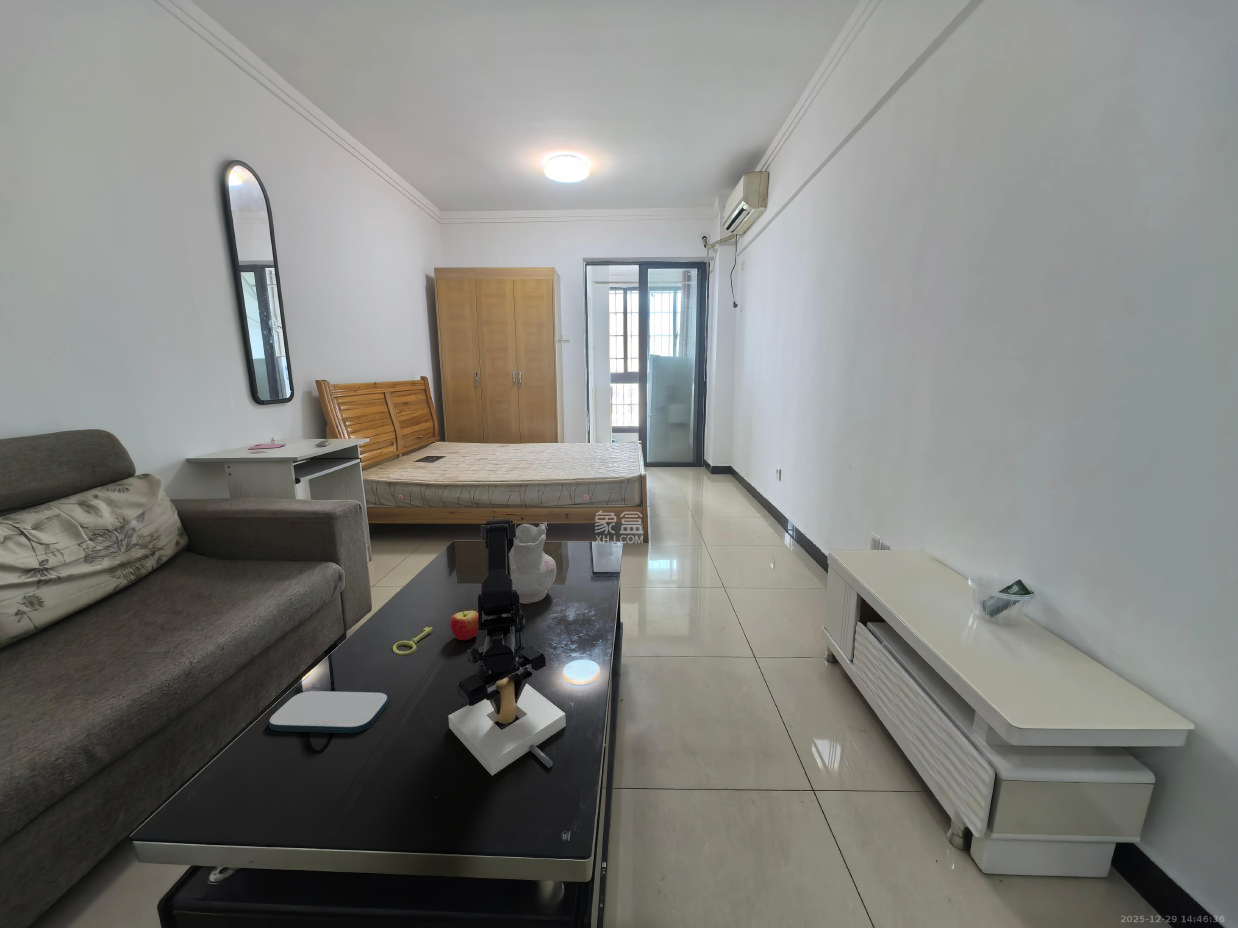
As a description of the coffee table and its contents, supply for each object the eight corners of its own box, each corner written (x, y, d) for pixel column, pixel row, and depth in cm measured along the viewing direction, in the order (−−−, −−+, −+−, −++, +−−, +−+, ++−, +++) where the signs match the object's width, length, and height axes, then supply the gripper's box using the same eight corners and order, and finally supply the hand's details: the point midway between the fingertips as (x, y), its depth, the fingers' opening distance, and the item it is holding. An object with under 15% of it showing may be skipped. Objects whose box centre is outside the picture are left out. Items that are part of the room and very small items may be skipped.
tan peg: (509, 707, 105) (507, 675, 104) (519, 716, 103) (517, 683, 101) (493, 716, 103) (491, 684, 101) (503, 726, 100) (501, 692, 98)
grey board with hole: (519, 688, 116) (519, 677, 115) (585, 741, 98) (584, 728, 98) (449, 727, 103) (448, 715, 103) (510, 796, 86) (509, 782, 85)
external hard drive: (394, 699, 113) (393, 692, 113) (366, 736, 102) (364, 728, 101) (300, 697, 115) (299, 689, 114) (262, 732, 103) (260, 724, 103)
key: (434, 632, 142) (433, 626, 142) (411, 656, 130) (410, 649, 130) (412, 631, 143) (411, 624, 143) (387, 655, 131) (386, 648, 131)
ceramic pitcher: (549, 615, 152) (551, 542, 147) (489, 611, 152) (489, 538, 148) (559, 586, 173) (561, 521, 169) (506, 582, 174) (507, 517, 169)
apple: (445, 641, 137) (442, 609, 135) (467, 627, 144) (464, 596, 142) (466, 648, 133) (463, 615, 131) (487, 633, 140) (484, 602, 138)
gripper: (517, 613, 111) (521, 672, 114) (441, 646, 98) (448, 712, 101) (546, 630, 103) (549, 693, 106) (466, 669, 91) (473, 739, 94)
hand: (506, 708), depth 102 cm, fingers closed on tan peg, 4 cm apart
